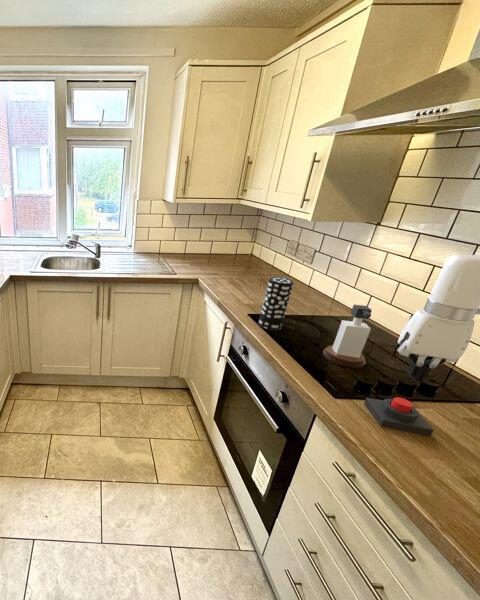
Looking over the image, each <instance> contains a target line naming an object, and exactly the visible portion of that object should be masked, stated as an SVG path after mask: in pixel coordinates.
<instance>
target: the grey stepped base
mask: <svg viewBox="0 0 480 600" xmlns="http://www.w3.org/2000/svg"><path fill="white" fill-rule="evenodd" d="M393 399H394V398H385V399H383V400H382V399H377V398H371V397H366V398H365V401H364V402H363V405H364V406H365V408H366V409H367V410H368V412H369V413H370V415H371V416H372V418H373V419H374V420H375V421H376V423H377V424H378V426H379V427H381V428H385V429H386V428H387V429H390V430H396V431H401V432H406V433H410V434H416V435H421V436H426V437H432V435H433V433H434V430H435V429H434V428H433V427H432V425H430V424H429V422H428V421H427V420H426V419H425V418H424V417H423V416H422V415H421V414H420V412H419V410H417V409H416V407H414V406H413V407H412V409H411V411H410V413H405V412H401V411H399V410H396V409H395V408H393V407H392V406H391V403H392V401H393Z"/></svg>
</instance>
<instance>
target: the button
mask: <svg viewBox="0 0 480 600" xmlns="http://www.w3.org/2000/svg"><path fill="white" fill-rule="evenodd" d="M392 399H393V401H392V403H391V406H392V407H393V408H395V409H396V410H399V411H401V412H405V413H410V411H411V409H412V407H414V404H413V403H412V401H409V400H407V399H406V398H403V397H399V396H396V397H394V398H392Z"/></svg>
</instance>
